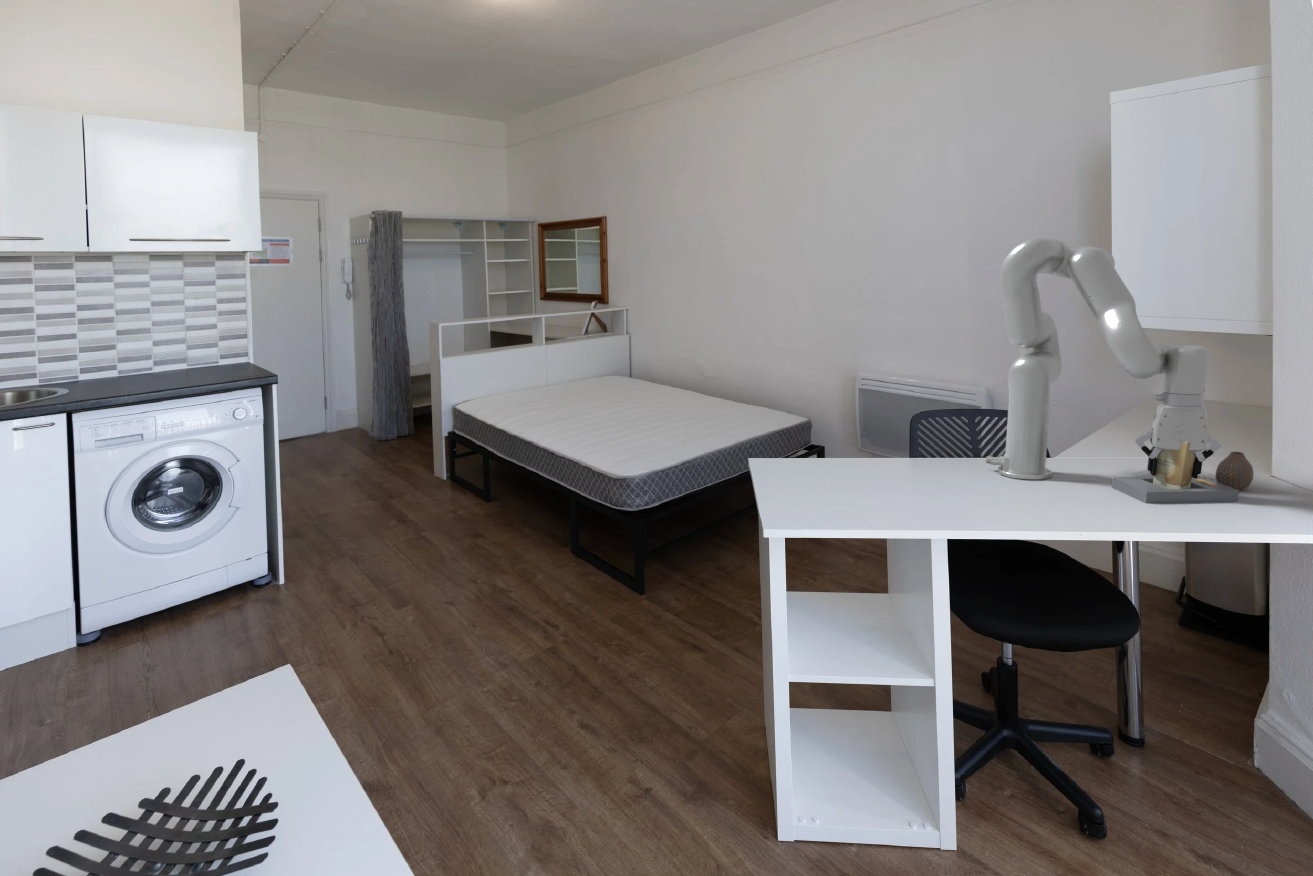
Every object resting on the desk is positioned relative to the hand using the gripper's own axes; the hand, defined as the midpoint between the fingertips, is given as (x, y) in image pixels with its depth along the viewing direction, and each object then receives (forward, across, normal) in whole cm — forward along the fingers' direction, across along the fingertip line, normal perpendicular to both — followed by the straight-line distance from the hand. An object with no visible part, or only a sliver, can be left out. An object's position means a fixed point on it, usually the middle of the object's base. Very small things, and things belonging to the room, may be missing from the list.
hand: (1173, 475), depth 165 cm
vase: (+5, +14, +9) cm, 17 cm away
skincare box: (+4, 0, 0) cm, 4 cm away
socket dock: (+5, 0, 0) cm, 5 cm away
